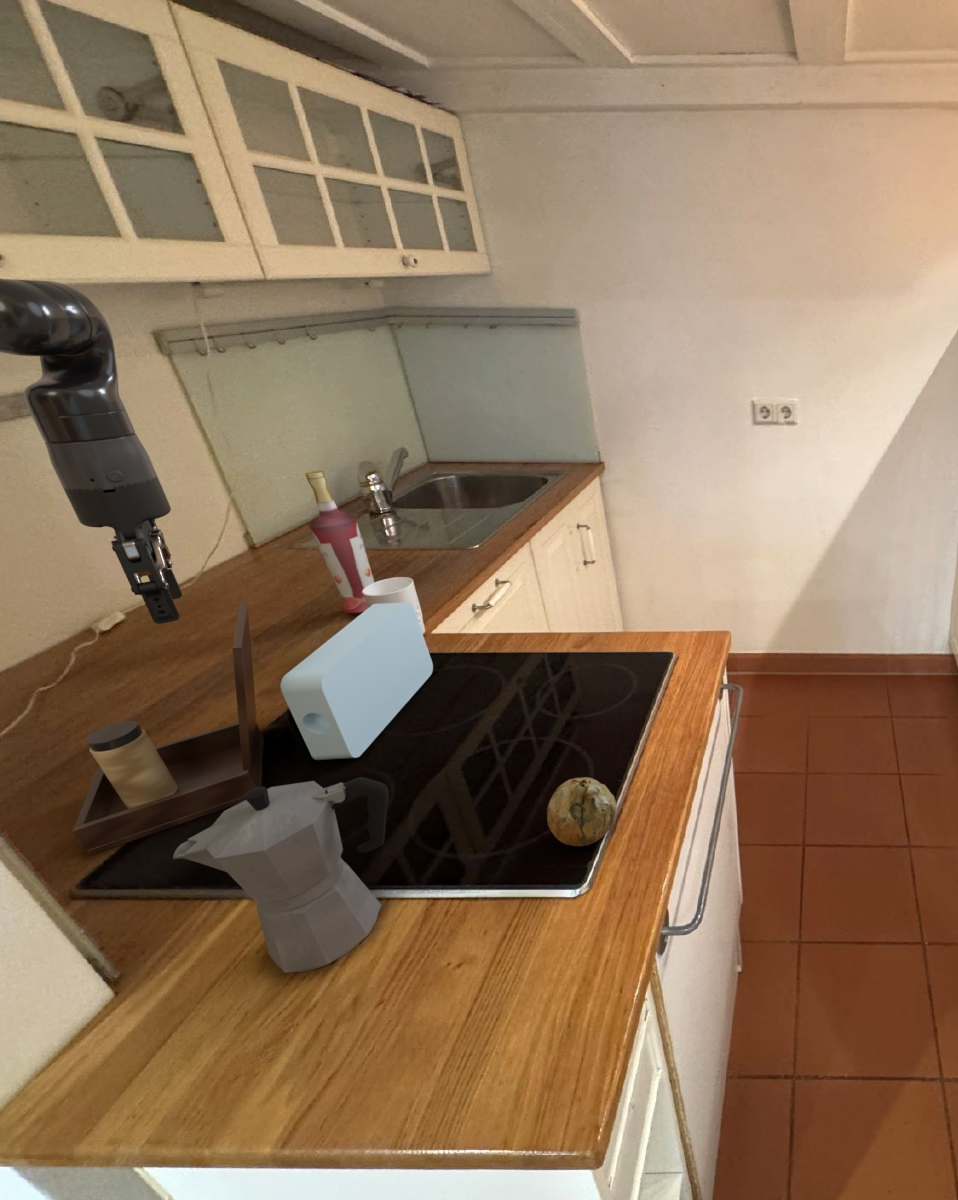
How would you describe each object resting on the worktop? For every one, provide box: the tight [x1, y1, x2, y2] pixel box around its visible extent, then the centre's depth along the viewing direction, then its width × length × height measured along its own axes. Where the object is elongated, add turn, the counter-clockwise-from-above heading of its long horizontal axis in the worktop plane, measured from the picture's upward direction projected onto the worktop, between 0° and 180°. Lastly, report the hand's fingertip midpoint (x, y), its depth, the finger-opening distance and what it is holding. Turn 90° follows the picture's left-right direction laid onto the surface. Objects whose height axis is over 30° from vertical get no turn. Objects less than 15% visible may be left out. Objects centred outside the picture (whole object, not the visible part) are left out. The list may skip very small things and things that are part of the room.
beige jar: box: [86, 720, 178, 809], centre depth 79 cm, size 5×5×10 cm
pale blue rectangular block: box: [280, 602, 434, 761], centre depth 95 cm, size 23×6×13 cm, turn 3°
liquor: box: [305, 470, 376, 617], centre depth 124 cm, size 7×7×28 cm
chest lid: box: [231, 604, 257, 770], centre depth 83 cm, size 16×15×1 cm
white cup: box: [362, 576, 426, 635], centre depth 118 cm, size 8×8×10 cm
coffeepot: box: [172, 776, 390, 974], centre depth 61 cm, size 15×9×18 cm, turn 125°
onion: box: [546, 776, 618, 847], centre depth 74 cm, size 8×8×8 cm
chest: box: [71, 721, 265, 856], centre depth 83 cm, size 16×15×4 cm
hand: (169, 609), depth 79 cm, fingers open, 8 cm apart
